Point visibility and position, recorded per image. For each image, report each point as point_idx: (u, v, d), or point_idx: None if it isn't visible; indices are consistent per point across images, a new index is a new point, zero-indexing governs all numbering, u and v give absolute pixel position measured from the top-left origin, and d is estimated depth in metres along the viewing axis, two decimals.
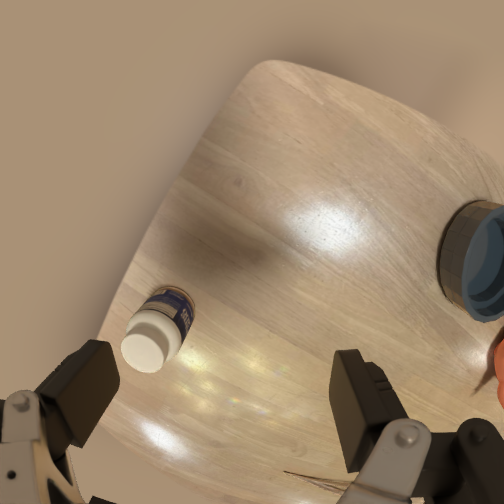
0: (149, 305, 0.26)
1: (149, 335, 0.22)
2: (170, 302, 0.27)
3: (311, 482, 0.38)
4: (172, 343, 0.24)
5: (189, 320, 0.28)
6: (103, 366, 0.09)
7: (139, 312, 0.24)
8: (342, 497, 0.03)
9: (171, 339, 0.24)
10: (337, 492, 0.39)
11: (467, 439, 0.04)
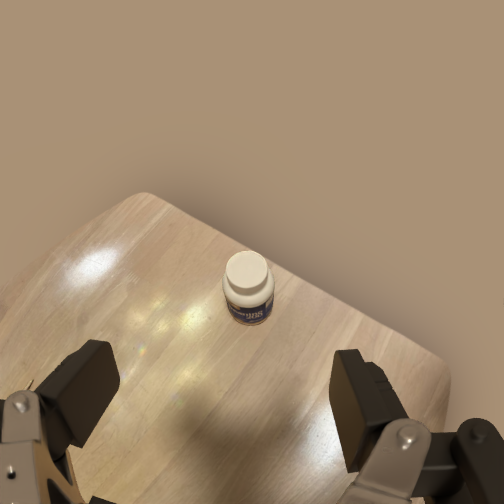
0: None
1: (265, 279, 0.27)
2: (271, 303, 0.32)
3: None
4: (247, 298, 0.28)
5: (250, 318, 0.32)
6: (103, 366, 0.09)
7: (272, 273, 0.30)
8: (342, 497, 0.03)
9: (252, 298, 0.28)
10: None
11: (467, 439, 0.04)
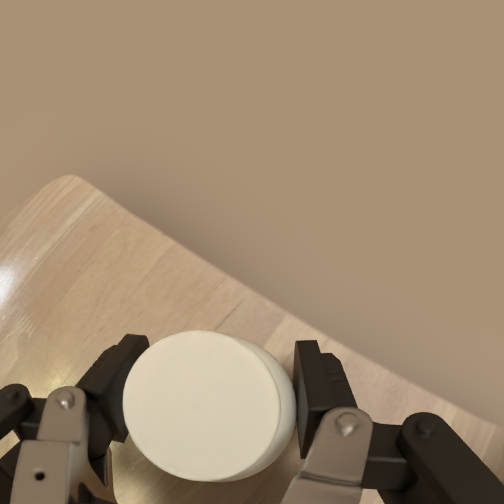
0: None
1: (269, 445, 0.06)
2: None
3: None
4: None
5: None
6: None
7: None
8: (290, 488, 0.03)
9: None
10: None
11: (412, 432, 0.05)
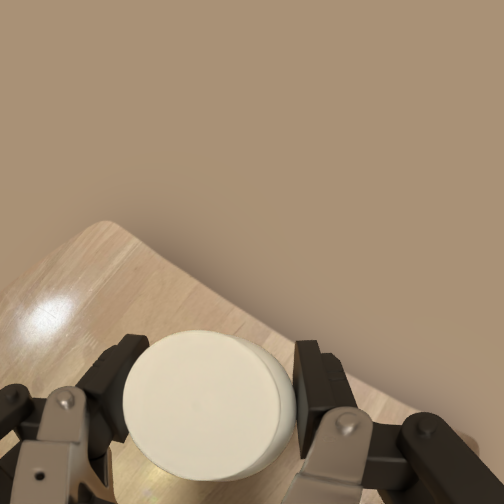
0: None
1: (269, 445, 0.06)
2: None
3: None
4: None
5: None
6: None
7: None
8: (290, 488, 0.03)
9: None
10: None
11: (412, 433, 0.05)
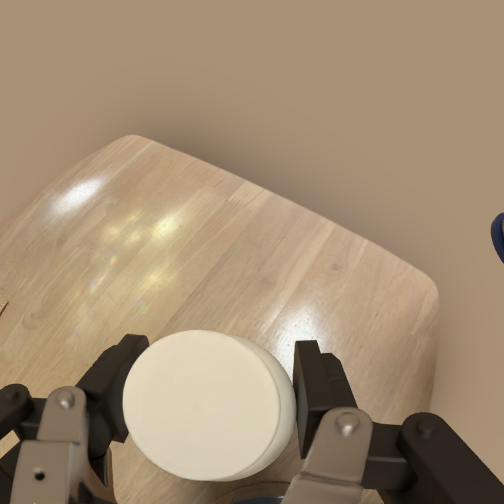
0: None
1: (269, 445, 0.06)
2: None
3: None
4: None
5: None
6: None
7: None
8: (290, 488, 0.03)
9: None
10: None
11: (412, 432, 0.05)
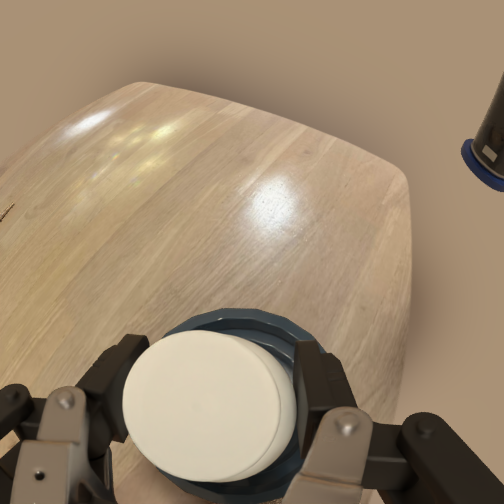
0: None
1: (269, 446, 0.06)
2: None
3: None
4: None
5: None
6: None
7: None
8: (290, 488, 0.03)
9: None
10: None
11: (412, 433, 0.05)
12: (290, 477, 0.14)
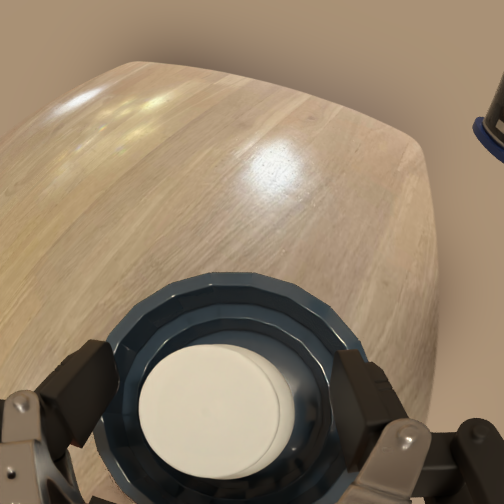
0: None
1: (270, 446, 0.07)
2: None
3: None
4: None
5: None
6: (103, 366, 0.09)
7: (289, 388, 0.10)
8: (342, 497, 0.03)
9: None
10: None
11: (467, 439, 0.04)
12: (302, 503, 0.09)
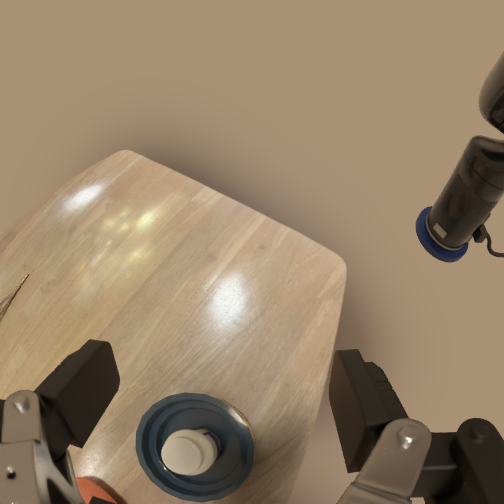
0: (215, 449, 0.26)
1: (199, 466, 0.21)
2: (215, 461, 0.26)
3: (8, 296, 0.41)
4: None
5: None
6: (103, 366, 0.09)
7: (212, 447, 0.25)
8: (342, 497, 0.03)
9: None
10: None
11: (467, 439, 0.04)
12: (223, 488, 0.24)
